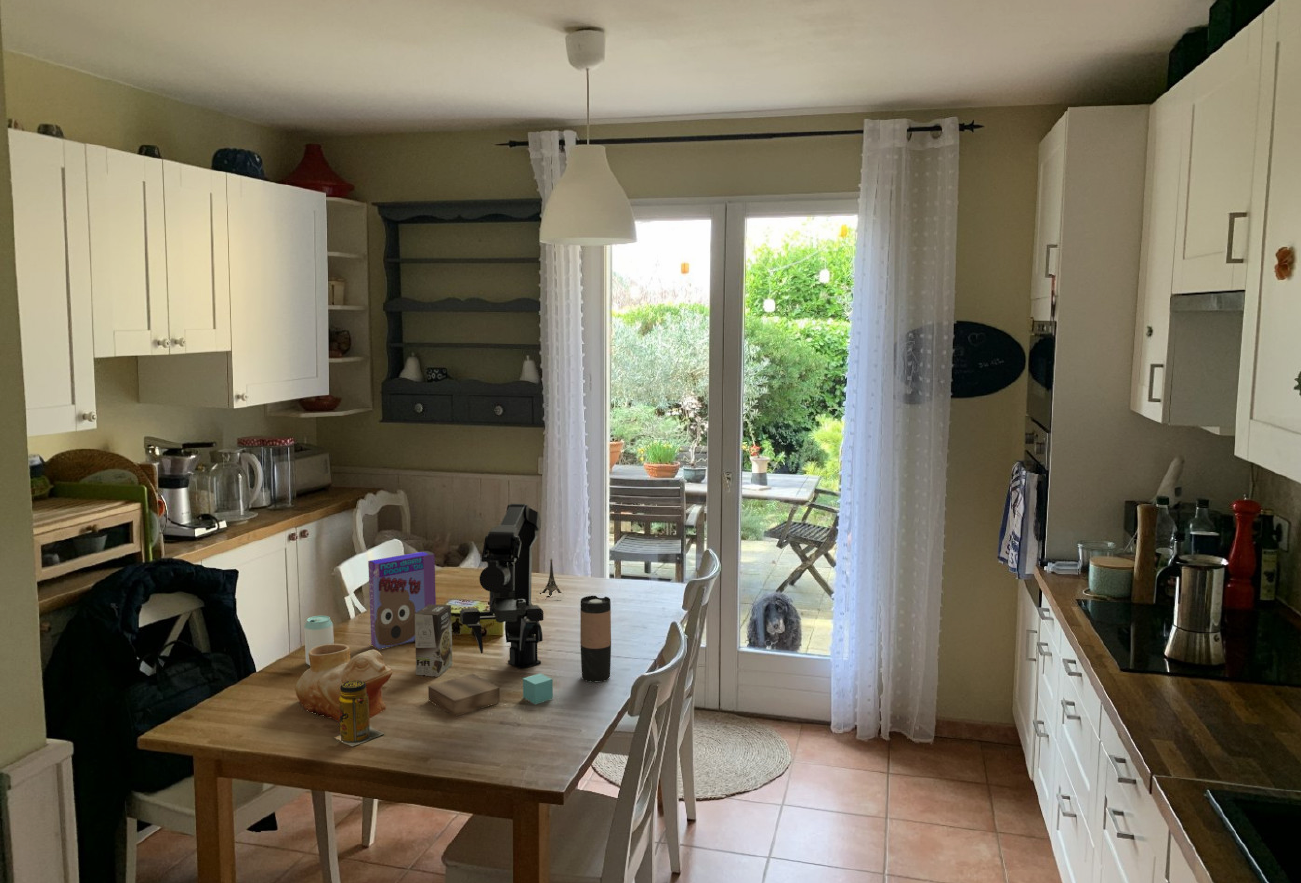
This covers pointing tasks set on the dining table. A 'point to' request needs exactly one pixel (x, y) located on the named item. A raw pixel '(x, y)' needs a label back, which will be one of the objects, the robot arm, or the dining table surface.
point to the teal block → (537, 688)
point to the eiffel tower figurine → (551, 582)
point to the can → (317, 633)
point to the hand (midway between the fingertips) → (501, 651)
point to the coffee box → (433, 640)
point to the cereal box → (399, 596)
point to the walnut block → (464, 694)
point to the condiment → (355, 714)
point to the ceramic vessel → (340, 679)
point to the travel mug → (595, 638)
